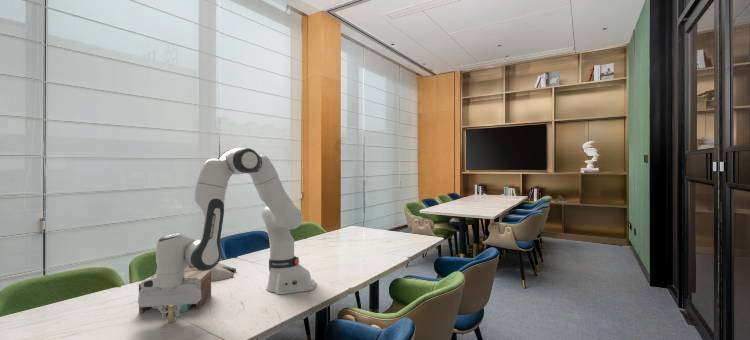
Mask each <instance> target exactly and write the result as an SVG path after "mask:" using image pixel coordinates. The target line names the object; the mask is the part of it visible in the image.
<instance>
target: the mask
mask: <svg viewBox="0 0 750 340" xmlns="http://www.w3.org/2000/svg"><path fill="white" fill-rule="evenodd" d="M210 270H211V283H213V282H219V281H223V280H228V279H231V278H233V277H234V276H235V274H234V272H237V268H235V267H231V266H228V265H226V264H223V263H221V262H219V263H218V264H217V265H216V266H215V267H214V268H212V269H210ZM189 271H201V270H198V269H197V268H195V267H194V266H192V265H186V266H185V267H184V272H189ZM207 271H208V270H207Z"/></svg>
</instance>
